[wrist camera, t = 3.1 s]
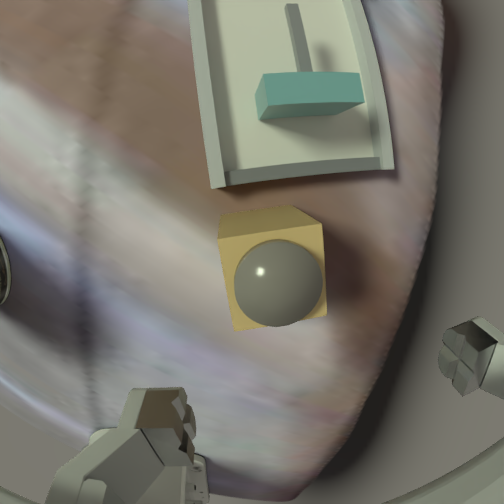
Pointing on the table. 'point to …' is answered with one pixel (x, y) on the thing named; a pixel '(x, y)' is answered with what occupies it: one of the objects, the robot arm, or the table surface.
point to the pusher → (305, 83)
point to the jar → (272, 266)
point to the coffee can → (4, 273)
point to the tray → (279, 61)
